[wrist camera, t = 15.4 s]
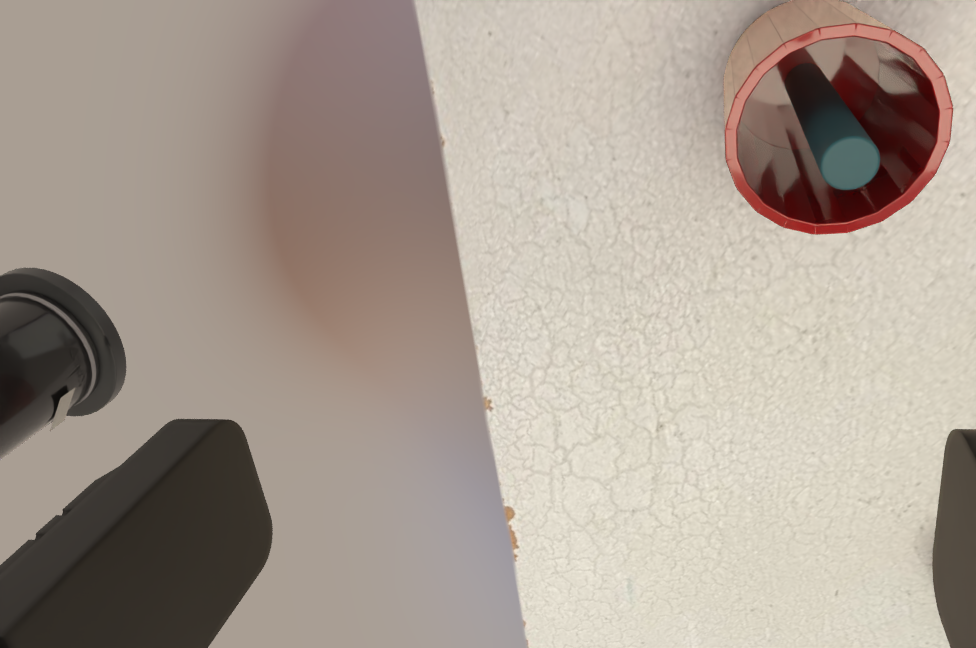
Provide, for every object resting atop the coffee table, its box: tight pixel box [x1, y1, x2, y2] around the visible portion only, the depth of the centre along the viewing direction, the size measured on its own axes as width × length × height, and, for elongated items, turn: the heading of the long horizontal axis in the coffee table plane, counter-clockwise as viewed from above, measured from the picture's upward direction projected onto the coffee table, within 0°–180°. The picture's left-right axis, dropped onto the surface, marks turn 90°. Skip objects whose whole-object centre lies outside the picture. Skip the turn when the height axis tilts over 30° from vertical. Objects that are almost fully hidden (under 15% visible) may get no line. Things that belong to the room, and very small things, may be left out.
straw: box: [785, 63, 880, 190], centre depth 29 cm, size 2×2×14 cm
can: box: [723, 0, 953, 235], centre depth 30 cm, size 7×7×11 cm
